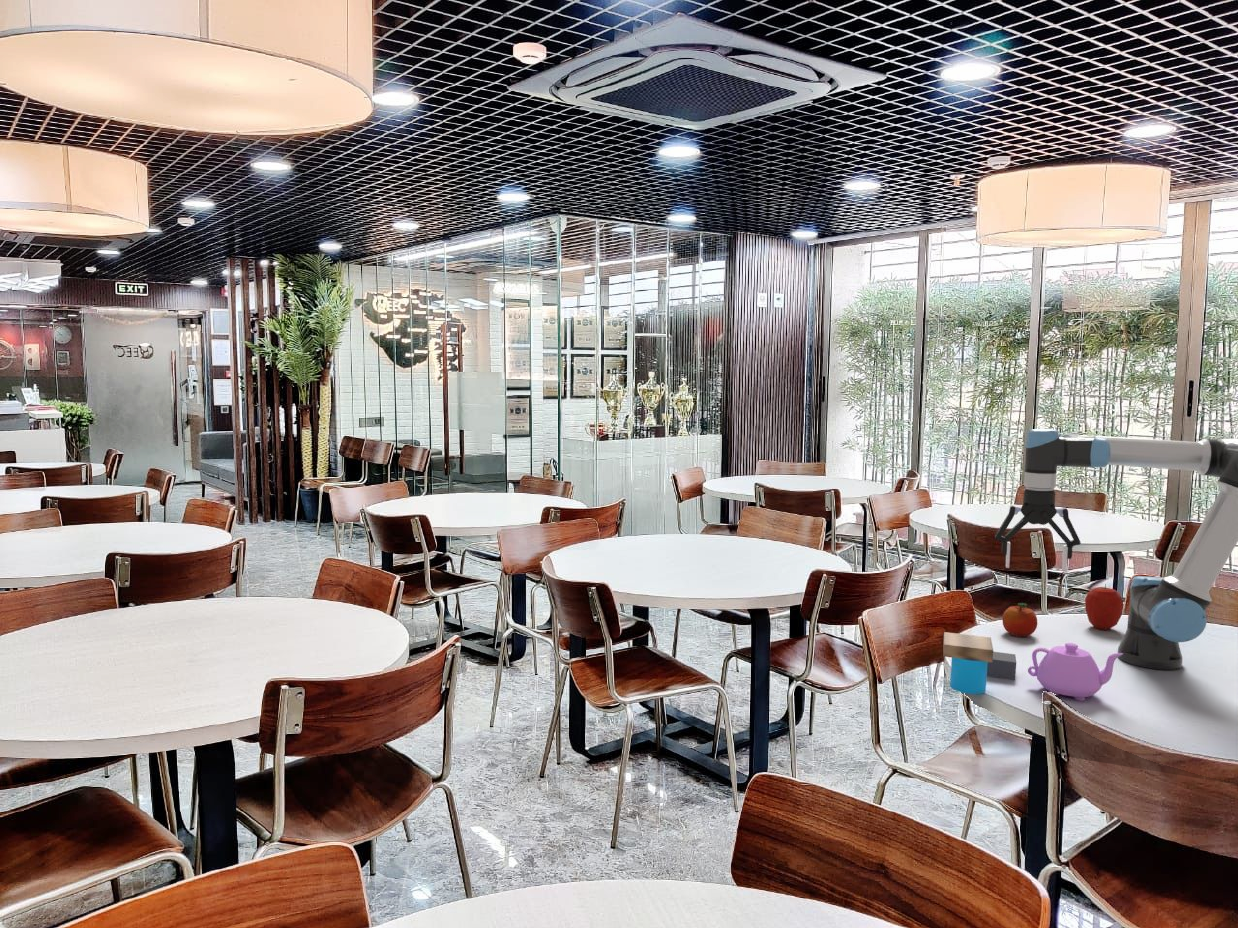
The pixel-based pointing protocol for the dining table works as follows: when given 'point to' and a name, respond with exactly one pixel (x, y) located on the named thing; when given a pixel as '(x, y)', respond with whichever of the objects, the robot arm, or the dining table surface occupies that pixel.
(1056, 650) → the teapot
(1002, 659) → the block
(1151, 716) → the dining table surface
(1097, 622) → the apple
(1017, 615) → the fruit
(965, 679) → the mug
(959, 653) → the block
